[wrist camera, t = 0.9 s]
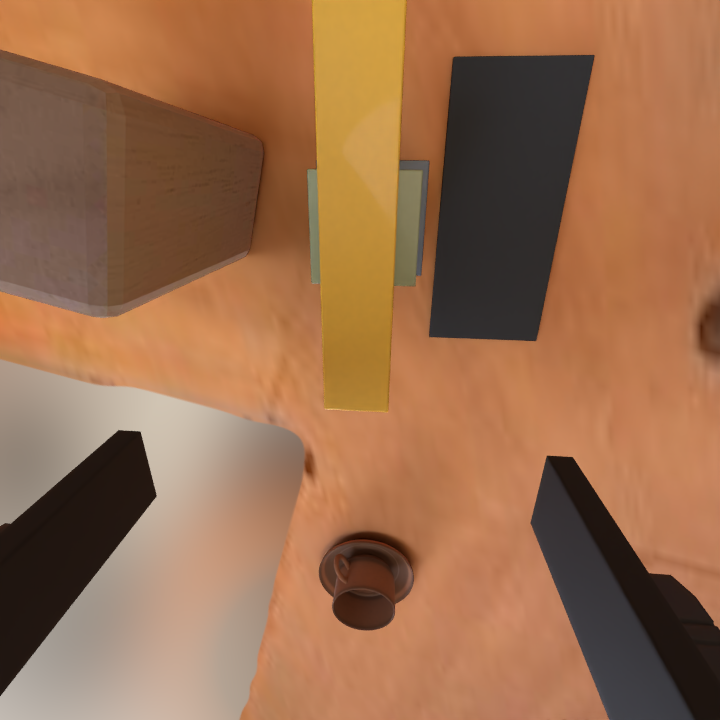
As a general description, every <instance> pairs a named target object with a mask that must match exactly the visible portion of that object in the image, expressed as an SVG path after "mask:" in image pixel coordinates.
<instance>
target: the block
mask: <svg viewBox="0 0 720 720" xmlns="http://www.w3.org/2000/svg"><path fill="white" fill-rule="evenodd" d="M263 154H264V151H263V146H262V142H261V141H260V140H259V139H258V138H256V137H255V136H254V135H252V134H249V133H246V132H244V131H241V130H238V129H235V128H233V127H230V126H227V125H224V124H222V123H219V122H216V121H214V120H211V119H208V118H205V117H203V116H200V115H197V114H194V113H192V112H189V111H186V110H183V109H181V108H178V107H175V106H173V105H170V104H167V103H164V102H162V101H159V100H156V99H153V98H151V97H148V96H145V95H143V94H140V93H137V92H134V91H132V90H129V89H126V88H123V87H121V86H118V85H115V84H112V83H110V82H107V81H104V80H102V79H98V78H95V77H92V76H88V75H85V74H81V73H78V72H75V71H71V70H68V69H64V68H61V67H58V66H54V65H51V64H47V63H44V62H41V61H37V60H34V59H30V58H27V57H24V56H20V55H17V54H13V53H10V52H7V51H3V50H0V291H1V292H5V293H8V294H12V295H16V296H19V297H23V298H26V299H30V300H34V301H37V302H41V303H45V304H48V305H52V306H56V307H59V308H63V309H67V310H70V311H74V312H77V313H81V314H85V315H88V316H92V317H100V318H107V317H115V316H119V315H121V314H123V313H125V312H128V311H130V310H132V309H134V308H136V307H138V306H140V305H143V304H145V303H147V302H149V301H151V300H153V299H155V298H158V297H160V296H162V295H164V294H166V293H168V292H171V291H173V290H175V289H177V288H179V287H181V286H183V285H186V284H188V283H190V282H192V281H194V280H196V279H198V278H201V277H203V276H205V275H207V274H209V273H211V272H213V271H216V270H218V269H220V268H222V267H224V266H226V265H228V264H231V263H233V262H235V261H237V260H239V259H241V258H244V257H246V255H247V253H248V252H249V250H250V244H251V237H252V230H253V223H254V216H255V209H256V202H257V195H258V188H259V182H260V175H261V168H262V161H263Z"/></svg>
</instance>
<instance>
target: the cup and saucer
mask: <svg viewBox="0 0 720 720" xmlns="http://www.w3.org/2000/svg"><path fill="white" fill-rule="evenodd" d="M319 578H320V581H321V583H322V585H323V587H324V588H325V590H326V591H327V592H328V593H329V594H330V595H331V596H332V597H334V598H333V604H332V609H333V613H334V615H335V616H336V618H337V619H338V620H339V621H340V622H342V623H343V624H345V625H346V626H348V627H351V628H354V629H358V630H376V629H380V628H383V627H385V626H386V625H388V624H389V623H390V622H391V621H392V620H393V618H394V615H395V604H396V603H398V602H400V601H401V600H403V599H404V598H405V597H406V596H407V595H408V594H409V592H410V591H411V589H412V586H413V582H414V576H413V571H412V568H411V565H410V564H409V562H408V560H407V559H406V558H405V557H404V556H403V555H402V554H401V553H400V552H399V551H397V550H396V549H394V548H393V547H391V546H389V545H387V544H384V543H382V542H378V541H374V540H364V539H362V540H352V541H347V542H344V543H341V544H339V545H337V546H335V547H334V548H332V549H331V550H330V551H328V552H327V554H326V555H325V556H324V558H323V560H322V561H321V564H320V567H319Z"/></svg>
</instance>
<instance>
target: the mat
mask: <svg viewBox="0 0 720 720" xmlns="http://www.w3.org/2000/svg"><path fill="white" fill-rule="evenodd" d="M593 60H594V55H558V56H474V57H454V58H453V65H452V77H451V88H450V100H449V112H448V123H447V135H446V146H445V158H444V170H443V181H442V193H441V204H440V216H439V227H438V239H437V251H436V262H435V274H434V285H433V297H432V309H431V320H430V332H429V337H445V338H471V339H498V340H524V341H536V340H537V335H538V330H539V325H540V320H541V315H542V310H543V305H544V301H545V296H546V291H547V286H548V281H549V276H550V271H551V266H552V261H553V256H554V252H555V247H556V242H557V237H558V232H559V227H560V222H561V217H562V212H563V207H564V203H565V198H566V193H567V188H568V183H569V178H570V173H571V168H572V163H573V158H574V154H575V149H576V144H577V139H578V134H579V129H580V124H581V119H582V114H583V109H584V105H585V100H586V95H587V90H588V85H589V80H590V75H591V70H592V65H593Z"/></svg>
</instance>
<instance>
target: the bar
mask: <svg viewBox="0 0 720 720" xmlns="http://www.w3.org/2000/svg"><path fill="white" fill-rule="evenodd" d="M406 9H407V0H312V22H313V55H314V88H315V121H316V154H317V187H318V219H319V252H320V285H321V318H322V351H323V383H324V408H325V409H329V410H349V411H368V412H388V405H389V383H390V361H391V339H392V317H393V295H394V273H395V251H396V229H397V207H398V185H399V163H400V141H401V119H402V97H403V75H404V53H405V31H406Z"/></svg>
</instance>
